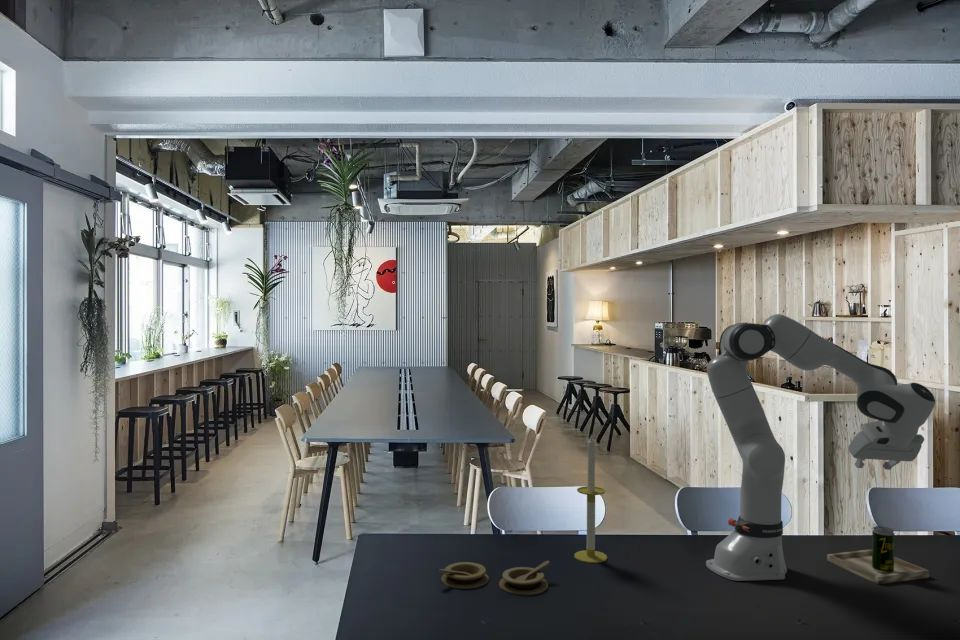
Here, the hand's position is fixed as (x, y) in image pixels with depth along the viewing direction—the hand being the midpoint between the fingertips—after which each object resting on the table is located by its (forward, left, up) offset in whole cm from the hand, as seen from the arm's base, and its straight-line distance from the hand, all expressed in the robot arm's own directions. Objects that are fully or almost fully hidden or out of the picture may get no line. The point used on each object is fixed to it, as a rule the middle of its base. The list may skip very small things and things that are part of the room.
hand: (872, 467), depth 199 cm
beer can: (-4, -8, -28) cm, 29 cm away
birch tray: (-3, -4, -28) cm, 29 cm away
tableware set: (-113, +16, -30) cm, 118 cm away
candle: (-79, +27, -29) cm, 88 cm away
